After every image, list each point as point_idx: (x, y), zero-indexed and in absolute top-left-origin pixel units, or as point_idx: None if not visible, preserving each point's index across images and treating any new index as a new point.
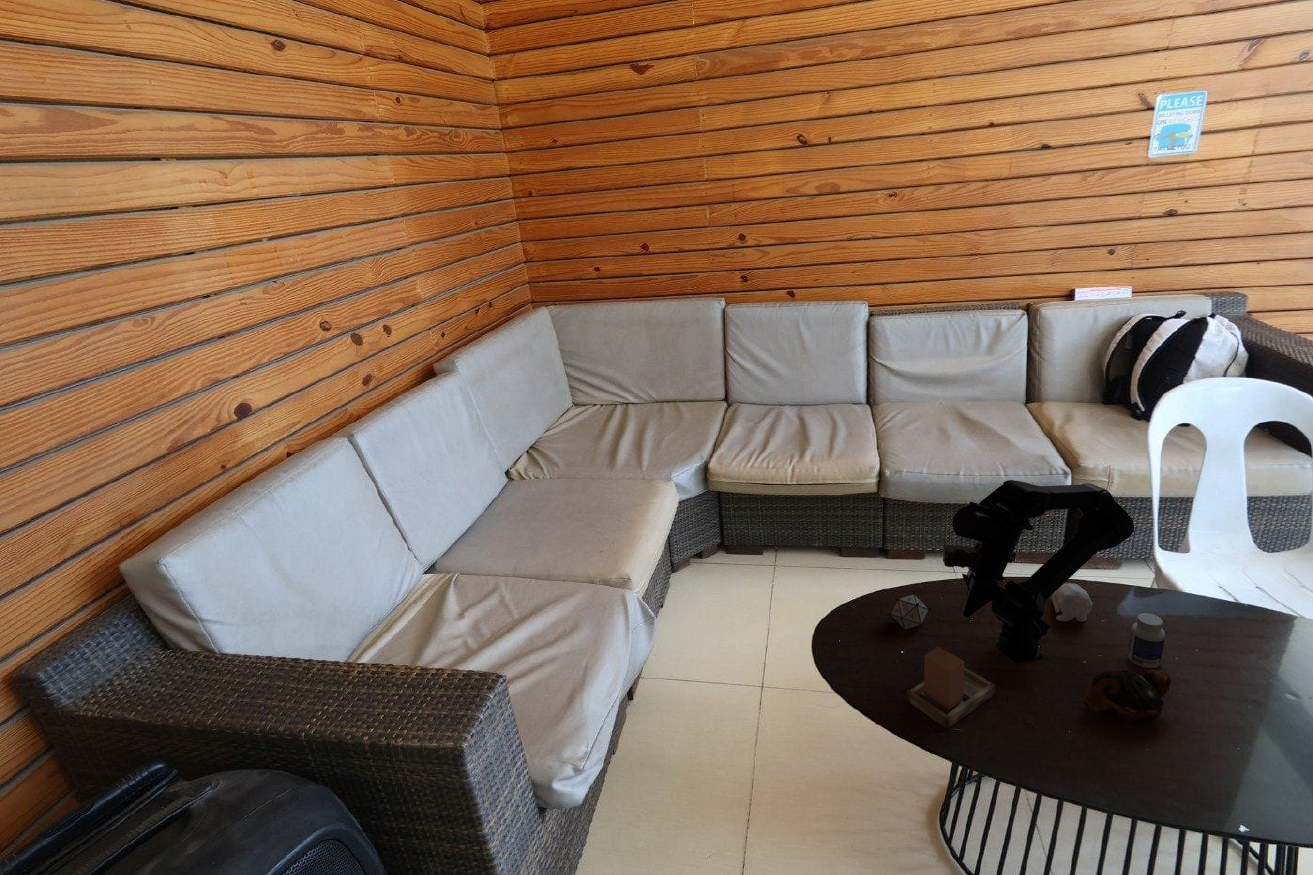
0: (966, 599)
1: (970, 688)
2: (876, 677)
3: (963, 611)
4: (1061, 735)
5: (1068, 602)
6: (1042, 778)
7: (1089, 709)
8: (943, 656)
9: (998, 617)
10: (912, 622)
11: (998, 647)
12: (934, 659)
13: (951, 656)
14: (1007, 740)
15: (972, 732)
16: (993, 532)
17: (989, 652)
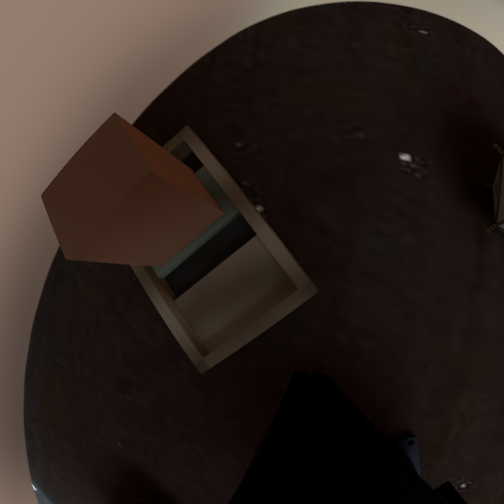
0: (303, 475)
1: (215, 306)
2: (289, 79)
3: (303, 384)
4: (108, 426)
5: None
6: (36, 339)
7: (138, 500)
8: (96, 182)
9: (442, 489)
10: (498, 194)
11: (398, 440)
12: (88, 146)
13: (90, 214)
14: (89, 325)
15: (105, 264)
16: None
17: (389, 413)
